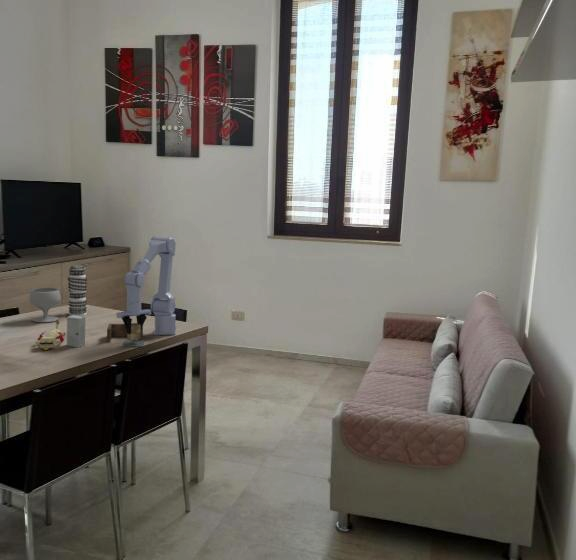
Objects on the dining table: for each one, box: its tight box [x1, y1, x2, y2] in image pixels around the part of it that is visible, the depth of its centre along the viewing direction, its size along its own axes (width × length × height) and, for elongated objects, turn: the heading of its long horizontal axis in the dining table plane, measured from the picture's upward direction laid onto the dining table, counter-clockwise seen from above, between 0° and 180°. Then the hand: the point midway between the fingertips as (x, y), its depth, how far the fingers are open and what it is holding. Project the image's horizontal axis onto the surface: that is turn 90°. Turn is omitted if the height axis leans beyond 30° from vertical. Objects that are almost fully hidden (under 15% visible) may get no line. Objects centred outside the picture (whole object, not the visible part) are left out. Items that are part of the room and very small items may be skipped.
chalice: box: [28, 287, 62, 323], centre depth 265 cm, size 14×14×15 cm
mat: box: [123, 340, 145, 349], centre depth 231 cm, size 8×8×1 cm
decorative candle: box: [67, 264, 88, 317], centre depth 280 cm, size 9×9×25 cm
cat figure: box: [35, 318, 66, 351], centre depth 229 cm, size 10×9×25 cm
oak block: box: [126, 322, 141, 341], centre depth 231 cm, size 4×4×6 cm
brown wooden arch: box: [106, 323, 144, 343], centre depth 240 cm, size 14×10×6 cm
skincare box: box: [66, 315, 86, 348], centre depth 226 cm, size 6×4×12 cm
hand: (134, 332), depth 231 cm, fingers closed on oak block, 4 cm apart
